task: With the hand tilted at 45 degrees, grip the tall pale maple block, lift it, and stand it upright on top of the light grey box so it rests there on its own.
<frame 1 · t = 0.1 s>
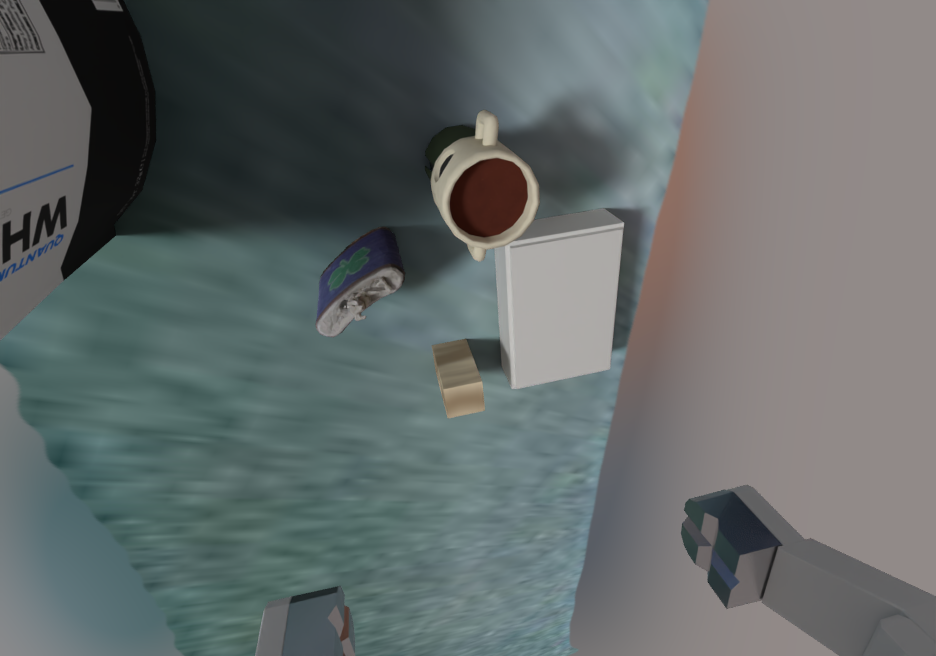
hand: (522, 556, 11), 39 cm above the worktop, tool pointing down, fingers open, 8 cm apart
flask: (356, 257, 47), on the worktop
character mug: (456, 159, 44), on the worktop
protein powder: (83, 80, 36), on the worktop
maple block: (450, 356, 56), on the worktop
grey box: (548, 293, 54), on the worktop
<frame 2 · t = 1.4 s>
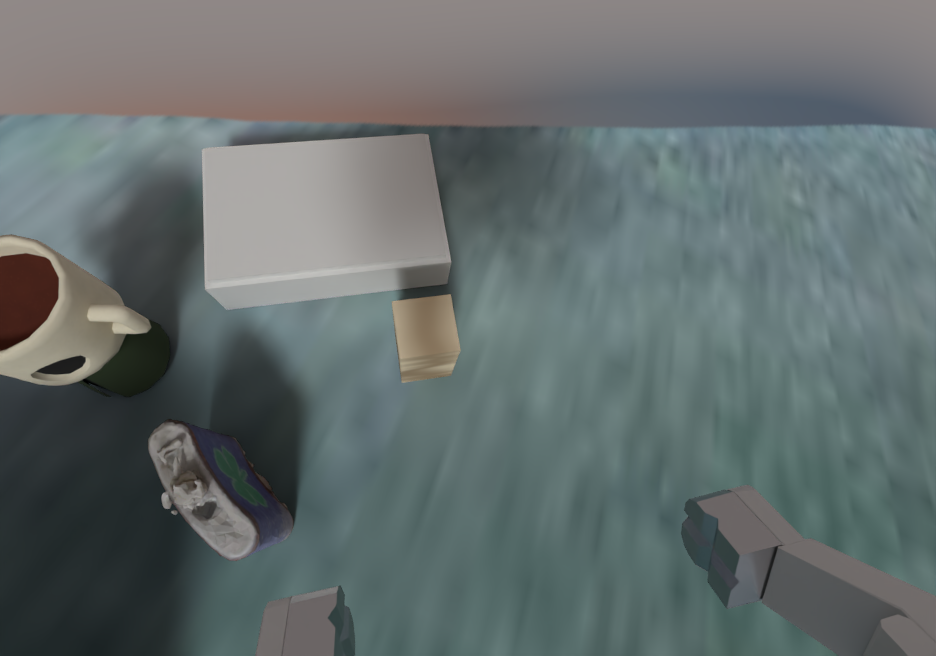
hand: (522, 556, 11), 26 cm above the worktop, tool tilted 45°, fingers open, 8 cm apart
flask: (248, 487, 35), on the worktop
character mug: (132, 358, 37), on the worktop
maple block: (422, 355, 39), on the worktop
grey box: (334, 232, 42), on the worktop
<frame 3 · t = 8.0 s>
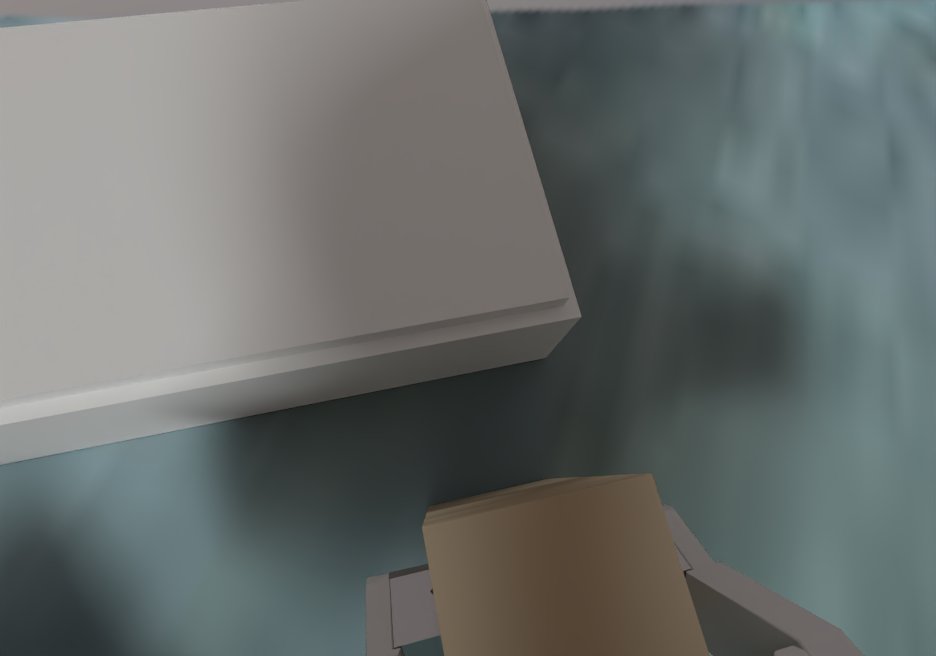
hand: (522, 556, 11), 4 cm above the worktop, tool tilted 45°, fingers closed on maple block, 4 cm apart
maple block: (503, 558, 15), on the worktop, touching gripper
grey box: (271, 249, 18), on the worktop
when the fingers open (10 cm above the worktop, at t = 16.0 s): maple block stays where it is, resting on grey box.
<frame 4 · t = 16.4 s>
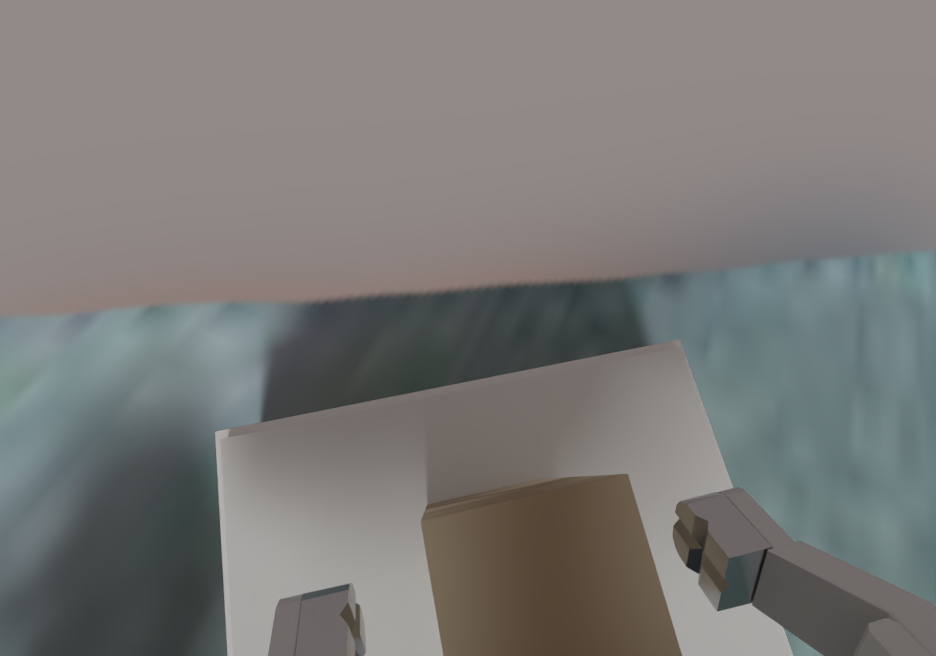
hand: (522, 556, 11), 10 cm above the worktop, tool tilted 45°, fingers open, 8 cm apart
maple block: (497, 553, 16), point 5 cm above the worktop, touching grey box
grey box: (485, 538, 21), on the worktop
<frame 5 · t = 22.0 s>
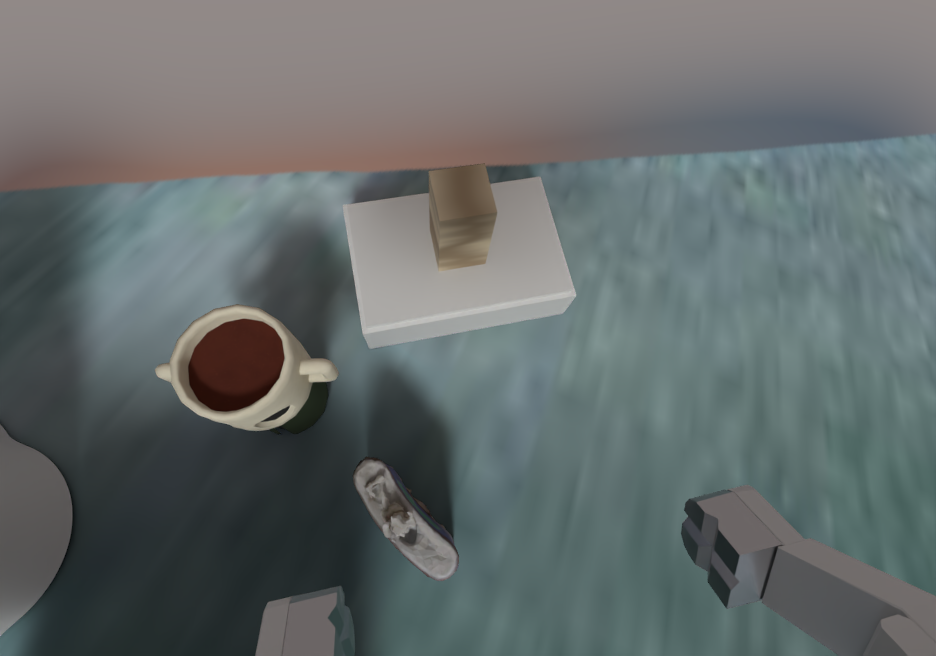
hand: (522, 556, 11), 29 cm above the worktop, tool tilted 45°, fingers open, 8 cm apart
flask: (408, 511, 39), on the worktop
character mug: (293, 398, 41), on the worktop
maple block: (457, 246, 41), point 5 cm above the worktop, touching grey box
grey box: (455, 271, 45), on the worktop
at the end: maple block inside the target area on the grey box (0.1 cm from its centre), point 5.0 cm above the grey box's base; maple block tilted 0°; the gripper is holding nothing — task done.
